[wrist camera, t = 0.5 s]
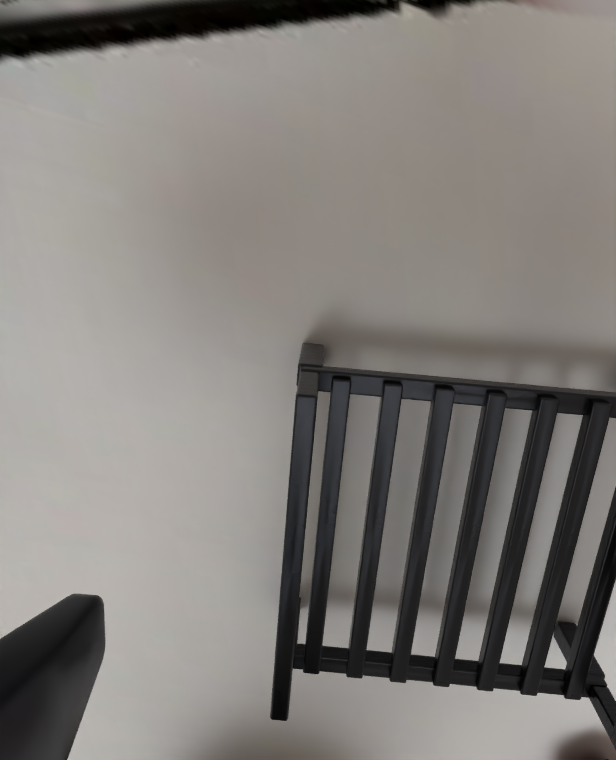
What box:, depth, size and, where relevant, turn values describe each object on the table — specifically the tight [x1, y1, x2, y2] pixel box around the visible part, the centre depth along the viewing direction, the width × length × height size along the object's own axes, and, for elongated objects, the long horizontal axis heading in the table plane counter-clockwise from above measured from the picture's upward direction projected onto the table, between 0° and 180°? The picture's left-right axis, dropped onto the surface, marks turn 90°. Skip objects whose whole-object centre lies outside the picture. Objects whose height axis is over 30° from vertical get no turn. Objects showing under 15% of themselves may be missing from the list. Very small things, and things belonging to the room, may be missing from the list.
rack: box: [270, 343, 616, 749], centre depth 20 cm, size 12×12×6 cm
